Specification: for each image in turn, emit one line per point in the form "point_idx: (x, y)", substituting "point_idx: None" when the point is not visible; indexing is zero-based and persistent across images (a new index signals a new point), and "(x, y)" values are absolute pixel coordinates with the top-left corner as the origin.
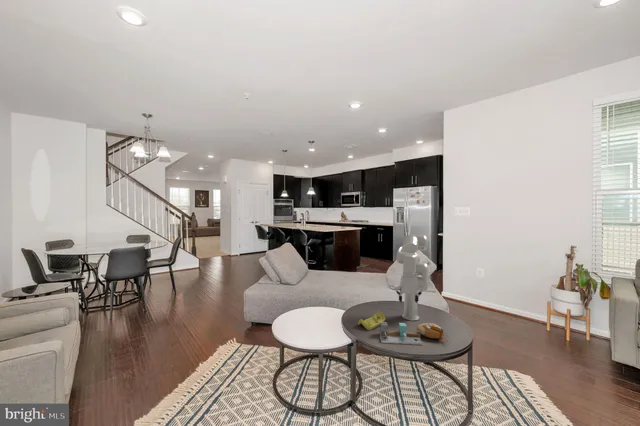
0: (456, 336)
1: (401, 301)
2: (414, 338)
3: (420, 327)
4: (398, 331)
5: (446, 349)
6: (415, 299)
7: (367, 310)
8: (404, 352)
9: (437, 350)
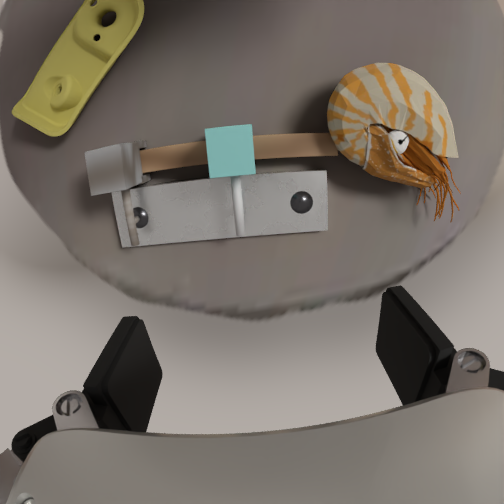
0: (481, 126)
1: (154, 384)
2: (295, 185)
3: (352, 131)
4: None
5: (411, 246)
6: (395, 332)
7: None
8: (224, 306)
9: (373, 262)
